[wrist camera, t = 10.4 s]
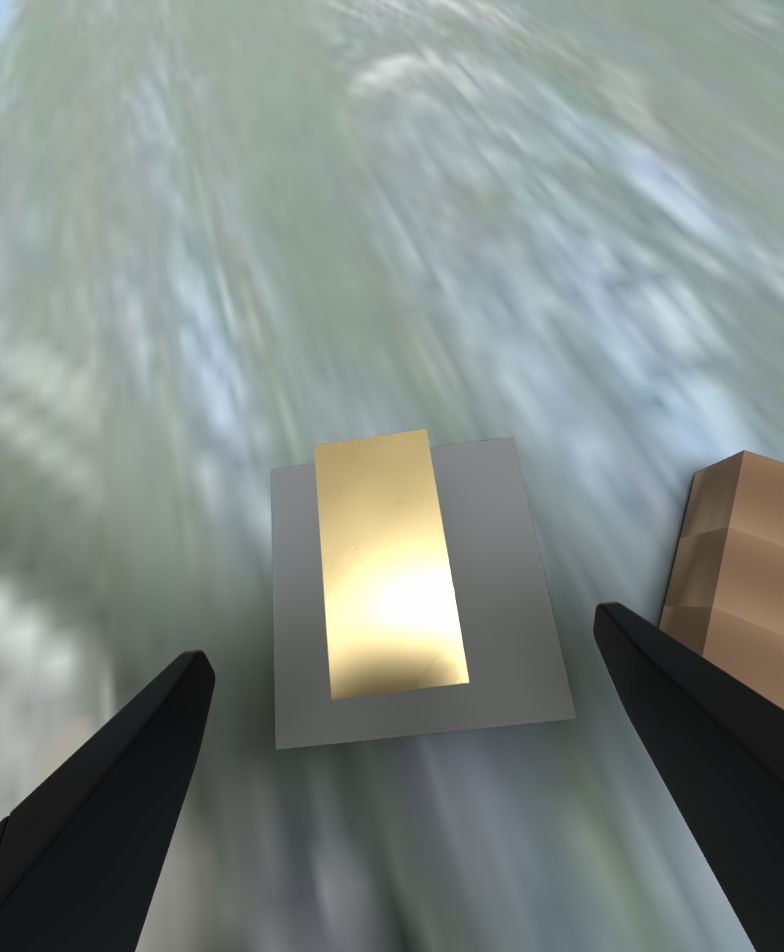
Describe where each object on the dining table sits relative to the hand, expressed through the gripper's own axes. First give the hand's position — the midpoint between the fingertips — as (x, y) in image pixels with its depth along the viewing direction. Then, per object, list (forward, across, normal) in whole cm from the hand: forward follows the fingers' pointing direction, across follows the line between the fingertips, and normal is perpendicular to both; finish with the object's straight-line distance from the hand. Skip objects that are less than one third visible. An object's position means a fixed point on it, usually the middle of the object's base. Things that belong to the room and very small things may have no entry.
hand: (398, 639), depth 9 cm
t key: (+7, 0, +4) cm, 8 cm away
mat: (+8, 0, +5) cm, 9 cm away
